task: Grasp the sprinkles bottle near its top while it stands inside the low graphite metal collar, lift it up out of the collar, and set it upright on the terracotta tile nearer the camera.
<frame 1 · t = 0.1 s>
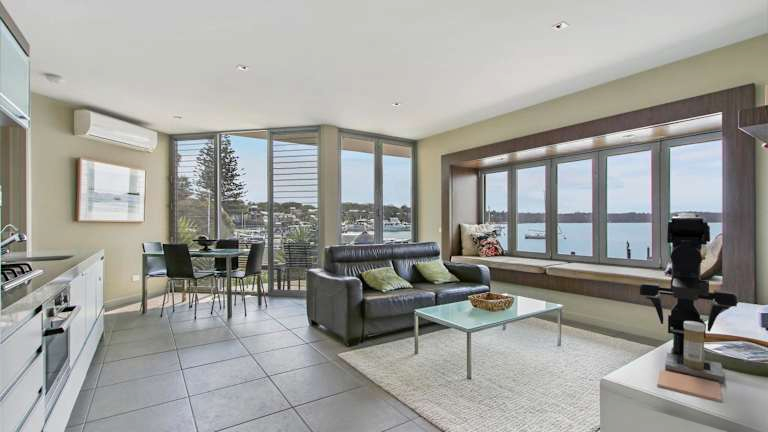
hand: (684, 327, 94), 15 cm above the cabinet, fingers open, 9 cm apart
terracotta tile: (688, 385, 94), on the cabinet
collar stand: (693, 370, 103), on the cabinet
sprinkles bottle: (693, 371, 103), resting in collar stand
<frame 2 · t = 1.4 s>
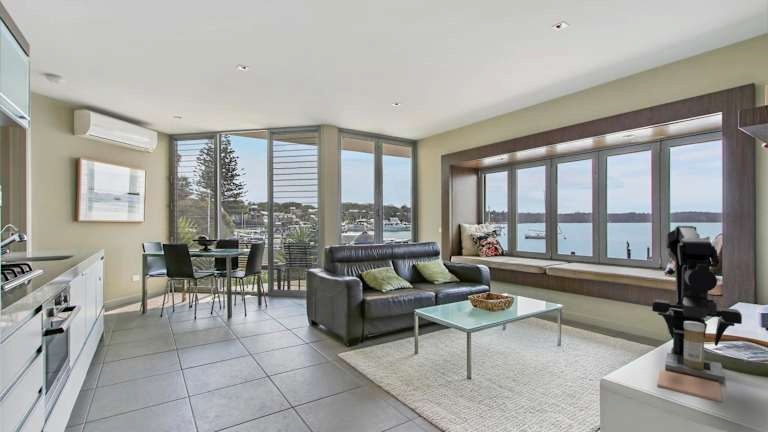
hand: (693, 341, 103), 8 cm above the cabinet, fingers open, 9 cm apart
nothing on the cabinet moved.
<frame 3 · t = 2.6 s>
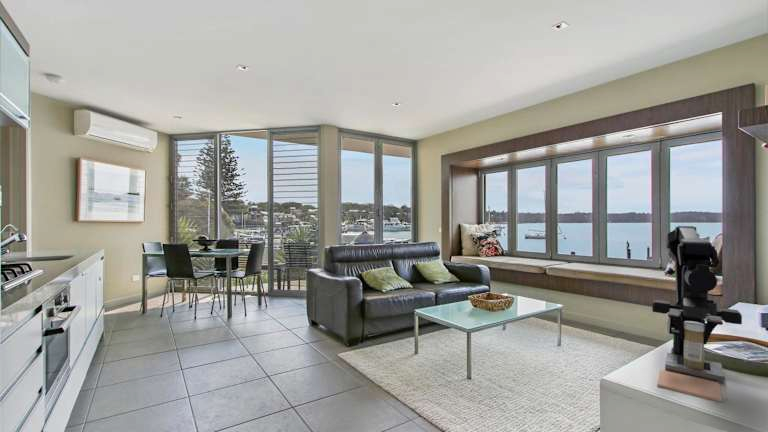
hand: (693, 342, 103), 8 cm above the cabinet, fingers closed on sprinkles bottle, 4 cm apart
sprinkles bottle: (693, 371, 103), resting in collar stand, touching gripper
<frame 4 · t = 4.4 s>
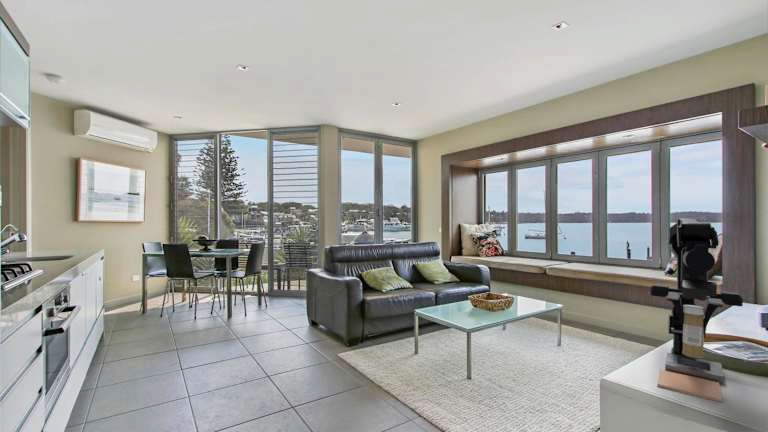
hand: (693, 326, 101), 13 cm above the cabinet, fingers closed on sprinkles bottle, 4 cm apart
sprinkles bottle: (692, 356, 101), point 5 cm above the cabinet, touching gripper
when the fingers open (10 cm above the cabinet, at t = 6.6 s): sprinkles bottle drops 1 cm, resting on terracotta tile.
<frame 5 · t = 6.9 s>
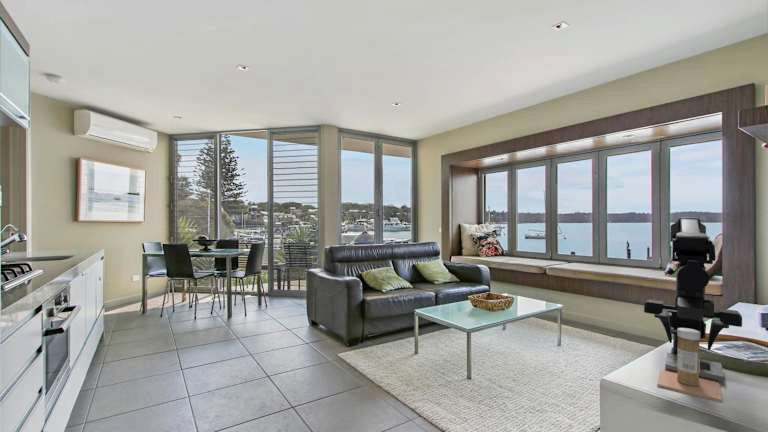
hand: (689, 346, 94), 10 cm above the cabinet, fingers open, 7 cm apart
sprinkles bottle: (687, 383, 94), resting on terracotta tile
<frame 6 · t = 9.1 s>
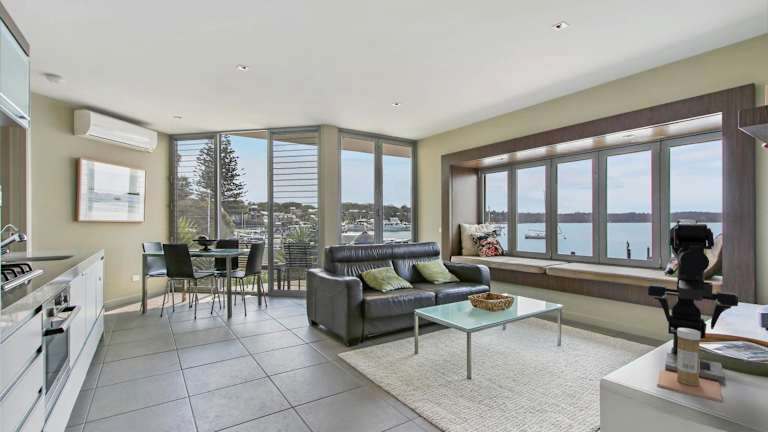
hand: (689, 325, 102), 13 cm above the cabinet, fingers open, 9 cm apart
nothing on the cabinet moved.
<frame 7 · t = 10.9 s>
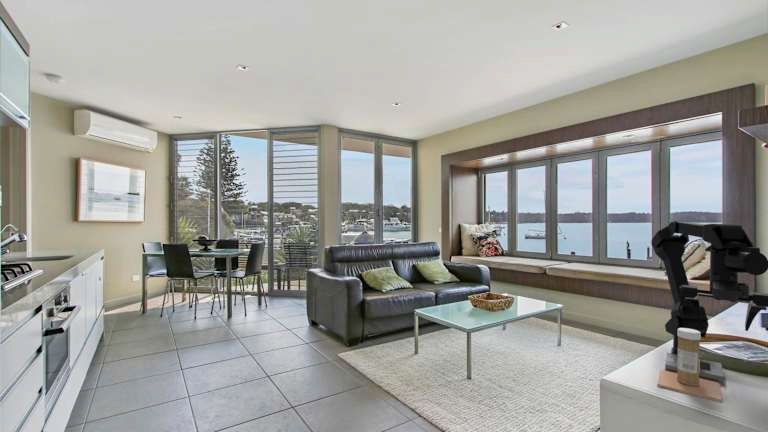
hand: (722, 327, 101), 13 cm above the cabinet, fingers open, 9 cm apart
nothing on the cabinet moved.
at the end: sprinkles bottle inside the target area on the terracotta tile (0.2 cm from its centre), point 0.4 cm above the terracotta tile's base; sprinkles bottle tilted 0°; the gripper is holding nothing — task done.
